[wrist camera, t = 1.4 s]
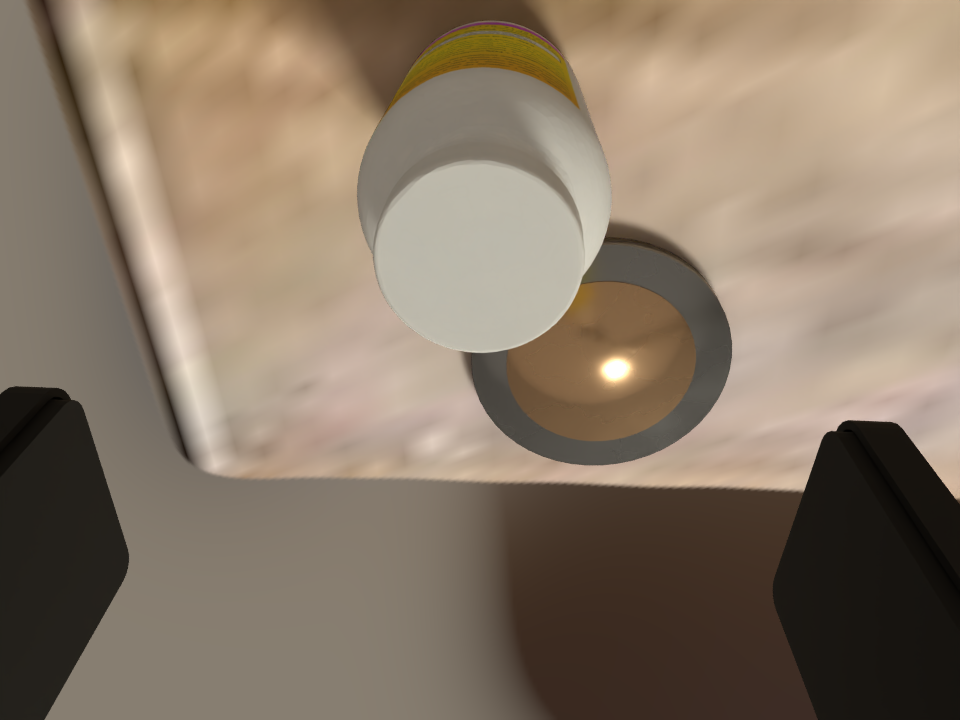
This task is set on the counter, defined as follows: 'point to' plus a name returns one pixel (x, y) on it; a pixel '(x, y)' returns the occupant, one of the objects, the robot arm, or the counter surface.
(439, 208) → the supplement bottle
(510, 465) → the counter surface
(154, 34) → the counter surface
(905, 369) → the counter surface
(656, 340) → the round coaster
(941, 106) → the counter surface
